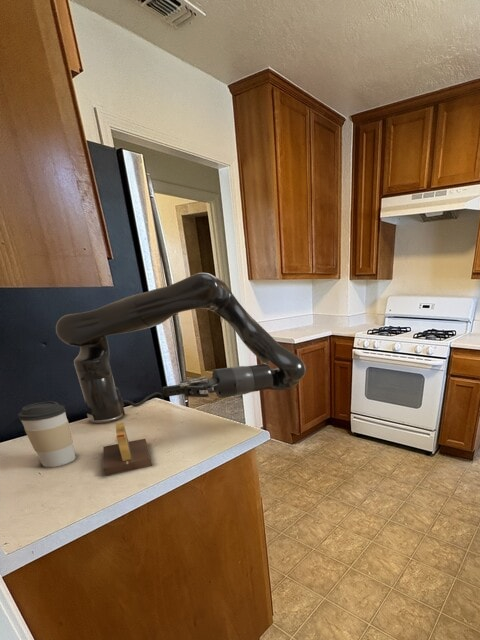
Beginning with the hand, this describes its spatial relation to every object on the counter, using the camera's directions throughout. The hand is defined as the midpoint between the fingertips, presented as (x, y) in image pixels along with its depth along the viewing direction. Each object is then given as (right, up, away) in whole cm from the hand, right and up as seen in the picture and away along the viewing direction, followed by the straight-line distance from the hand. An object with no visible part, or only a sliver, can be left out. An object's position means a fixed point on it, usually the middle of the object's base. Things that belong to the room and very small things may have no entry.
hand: (163, 392), depth 85 cm
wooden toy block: (-11, -15, +3) cm, 18 cm away
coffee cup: (-28, -17, +4) cm, 33 cm away
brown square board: (-11, -17, +4) cm, 20 cm away
